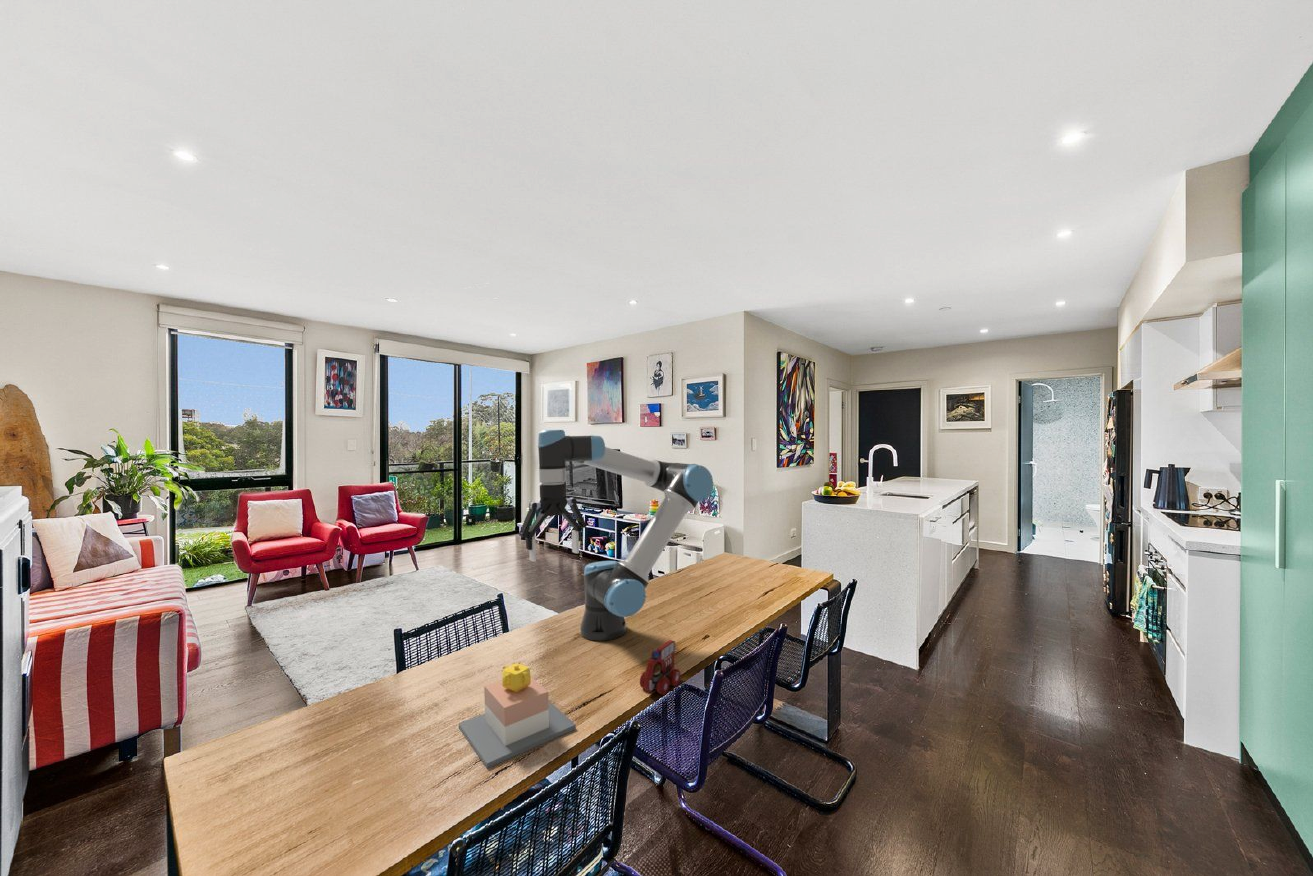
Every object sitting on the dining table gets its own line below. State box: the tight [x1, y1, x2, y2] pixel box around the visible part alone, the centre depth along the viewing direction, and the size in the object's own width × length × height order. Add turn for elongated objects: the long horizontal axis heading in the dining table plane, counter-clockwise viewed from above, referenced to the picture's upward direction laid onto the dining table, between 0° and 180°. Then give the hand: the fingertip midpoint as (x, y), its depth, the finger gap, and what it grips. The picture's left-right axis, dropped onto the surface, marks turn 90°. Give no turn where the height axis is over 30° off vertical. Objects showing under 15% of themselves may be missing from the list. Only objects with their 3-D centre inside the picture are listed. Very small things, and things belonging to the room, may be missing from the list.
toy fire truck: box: [639, 639, 682, 696], centre depth 128 cm, size 7×12×10 cm, turn 144°
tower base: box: [458, 676, 577, 769], centre depth 112 cm, size 20×18×9 cm
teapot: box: [501, 662, 532, 693], centre depth 111 cm, size 8×6×5 cm
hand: (554, 556), depth 143 cm, fingers open, 13 cm apart
